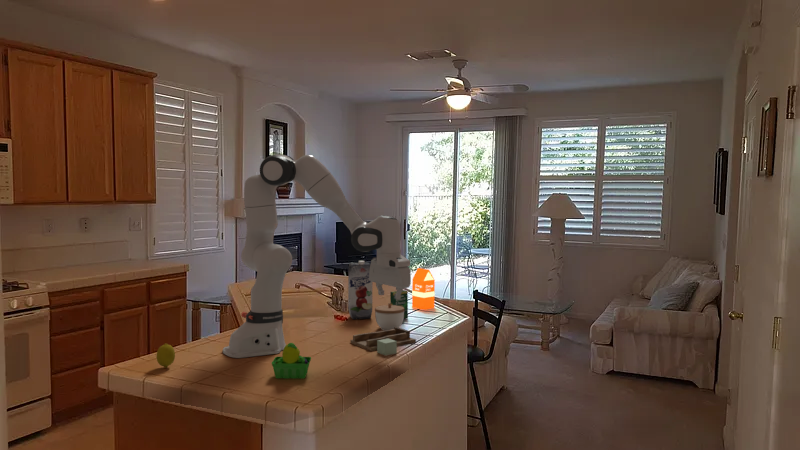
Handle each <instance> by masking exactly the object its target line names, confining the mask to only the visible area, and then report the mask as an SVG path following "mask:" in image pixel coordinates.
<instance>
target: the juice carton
mask: <svg viewBox="0 0 800 450" xmlns="http://www.w3.org/2000/svg"><path fill="white" fill-rule="evenodd" d="M370 265H371V262H370V263H369V262H368V261H365V260H358V262H349V263H348V279H347V281H348V284H347V285H348V286H347V287H348V289H347V290H348V292H347V293H348V294H347V296H348V299H347V301H348V313H349V317H350V318H351V319H352V320H368V319H371V317H372V314H373V288H374V287H373V283H374V282H371V281H370V279H369V271H370Z"/></svg>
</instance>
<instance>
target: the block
mask: <svg viewBox="0 0 800 450" xmlns="http://www.w3.org/2000/svg"><path fill="white" fill-rule="evenodd" d="M397 347H398V346H397V341H395V340H392V339H389V338H388V339H383V340H377V350H376V353H378V354H379V355H382V356H390V355H396V354H397V353H398V348H397Z"/></svg>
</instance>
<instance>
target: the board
mask: <svg viewBox="0 0 800 450" xmlns="http://www.w3.org/2000/svg"><path fill="white" fill-rule="evenodd" d="M388 338H389V339H392V340H395V341H397V347H398V346H404V345H405V346H406V345H409V344H414V343H415V344H416V343H417V339H416V338H413V337H411V331H410V330H407V329H404V328H401V327H399V328H398V327H394V329H391V330H380V331H374V332H365V333H359V334H354V335H353V334H352V339H350V344H351V343H352V345H355V346H356V347H359V348H362V349H364V350H366V351H370V352H373V351H377V340H383V339H388Z"/></svg>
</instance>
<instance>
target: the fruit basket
mask: <svg viewBox="0 0 800 450" xmlns="http://www.w3.org/2000/svg"><path fill="white" fill-rule="evenodd" d="M300 354H301V353H300V349H299V348H298V346H296V344H295V343H293V342H289V343H287V344H286V346H285V347H284V349H283V350H282V355H281V356H275V357H274V359H273V360H272V361H271V366H272V368H273V369H272V370H273V373H274V376H275V379H292V380H293V379H299V380H300V379H302V380H303V379H305V378H306V377H307V374H308V370H309V367H310V362H311V361H312V357H311V356H303V355H300Z"/></svg>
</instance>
